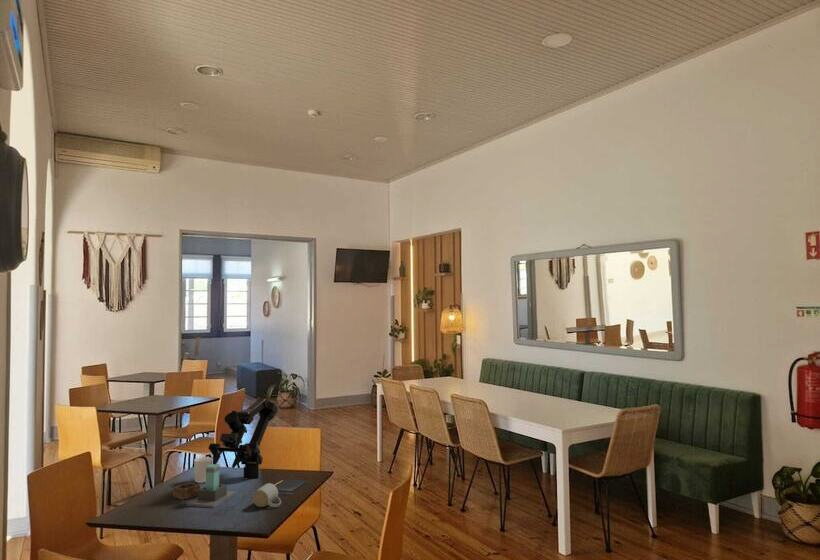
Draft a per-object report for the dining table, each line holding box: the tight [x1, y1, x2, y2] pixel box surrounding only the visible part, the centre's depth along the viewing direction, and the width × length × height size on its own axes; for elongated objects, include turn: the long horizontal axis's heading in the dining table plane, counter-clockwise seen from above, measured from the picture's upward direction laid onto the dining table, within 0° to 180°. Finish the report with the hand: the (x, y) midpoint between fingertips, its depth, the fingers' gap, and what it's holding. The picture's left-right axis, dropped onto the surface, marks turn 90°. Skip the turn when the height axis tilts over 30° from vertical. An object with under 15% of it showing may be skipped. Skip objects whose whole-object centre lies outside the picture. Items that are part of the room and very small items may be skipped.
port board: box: [186, 483, 237, 509], centre depth 230 cm, size 18×12×5 cm, turn 168°
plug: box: [205, 463, 221, 490], centre depth 230 cm, size 4×4×13 cm
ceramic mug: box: [252, 482, 282, 508], centre depth 223 cm, size 11×8×8 cm
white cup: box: [193, 456, 213, 484], centre depth 257 cm, size 8×8×10 cm
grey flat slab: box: [274, 478, 310, 496], centre depth 246 cm, size 20×2×15 cm
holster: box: [172, 482, 201, 501], centre depth 236 cm, size 8×7×4 cm
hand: (222, 467), depth 238 cm, fingers open, 9 cm apart
